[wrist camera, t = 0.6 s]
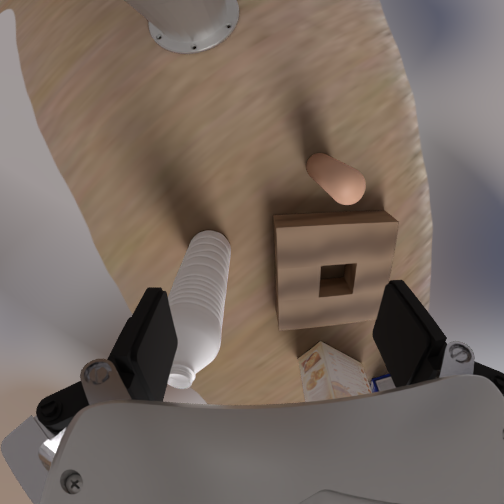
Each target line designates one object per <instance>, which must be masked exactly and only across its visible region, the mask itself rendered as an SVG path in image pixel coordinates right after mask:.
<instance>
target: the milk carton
mask: <svg viewBox="0 0 504 504" xmlns="http://www.w3.org/2000/svg"><path fill="white" fill-rule="evenodd" d="M370 388H371V391H372V393H374V392H379V391H384V390H389V389H394V388H396V387H395V385H394V382H393V380H392V378H391V376H390V374H386V375H383V376H380V377H376V378H373V379H372V380H371V385H370Z"/></svg>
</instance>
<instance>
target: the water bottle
mask: <svg viewBox="0 0 504 504" xmlns="http://www.w3.org/2000/svg"><path fill="white" fill-rule="evenodd" d="M230 256H231V247H230V244H229V241H228V240H227V239H226V237H225V236H224V235H222V234H221V233H219V232H215V231H212V230H206V231H203V232H200V233H198V234H196V235H195V236H194V237H193V239H192V240H191V242H190V244H189V247H188V249H187V252H186V254H185V256H184V259H183V261H182V263H181V266H180V269H179V271H178V273H177V276H176V278H175V280H174V283H173V286H172V288H171V291H170V293H169V296H168V301H169V306H170V310H171V314H172V319H173V323H174V327H175V331H176V335H177V339H178V346H177V350H176V353H175V357H174V361H173V364H172V368H171V371H170V375H169V379H168V384H169V385H171V386H172V387H175V388H179V389H186V388H188V387H190V386H191V384H192V381H193V380H194V379H195V373H197V372H198V371H200V370H201V369H203V368H204V367H205V366H207V365H208V364H209V363H211V362H212V361H213V360H214V358H215V357H216V355H217V353H218V351H219V349H220V344H221V331H222V323H223V313H224V304H225V297H226V288H227V280H228V272H229V263H230Z"/></svg>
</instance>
